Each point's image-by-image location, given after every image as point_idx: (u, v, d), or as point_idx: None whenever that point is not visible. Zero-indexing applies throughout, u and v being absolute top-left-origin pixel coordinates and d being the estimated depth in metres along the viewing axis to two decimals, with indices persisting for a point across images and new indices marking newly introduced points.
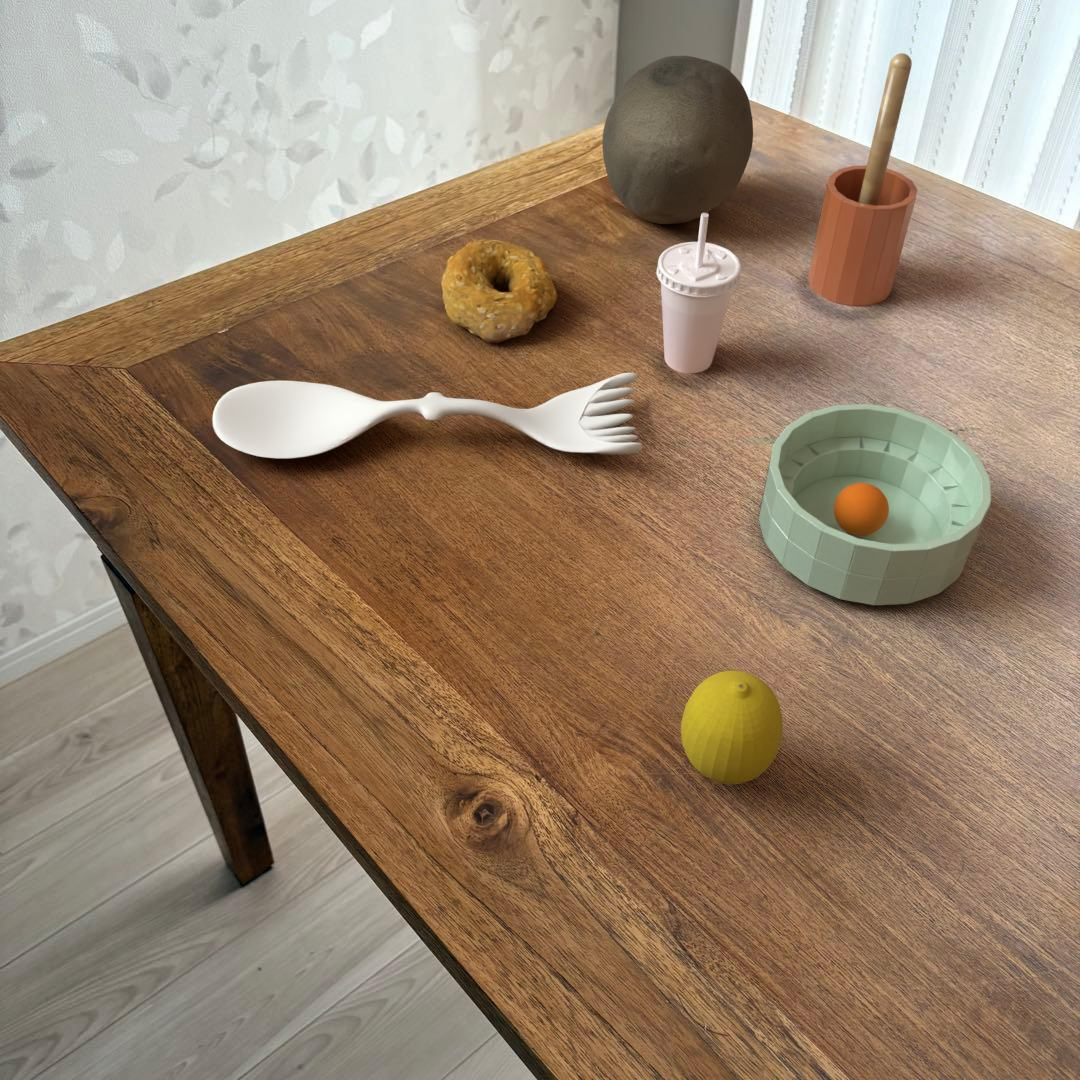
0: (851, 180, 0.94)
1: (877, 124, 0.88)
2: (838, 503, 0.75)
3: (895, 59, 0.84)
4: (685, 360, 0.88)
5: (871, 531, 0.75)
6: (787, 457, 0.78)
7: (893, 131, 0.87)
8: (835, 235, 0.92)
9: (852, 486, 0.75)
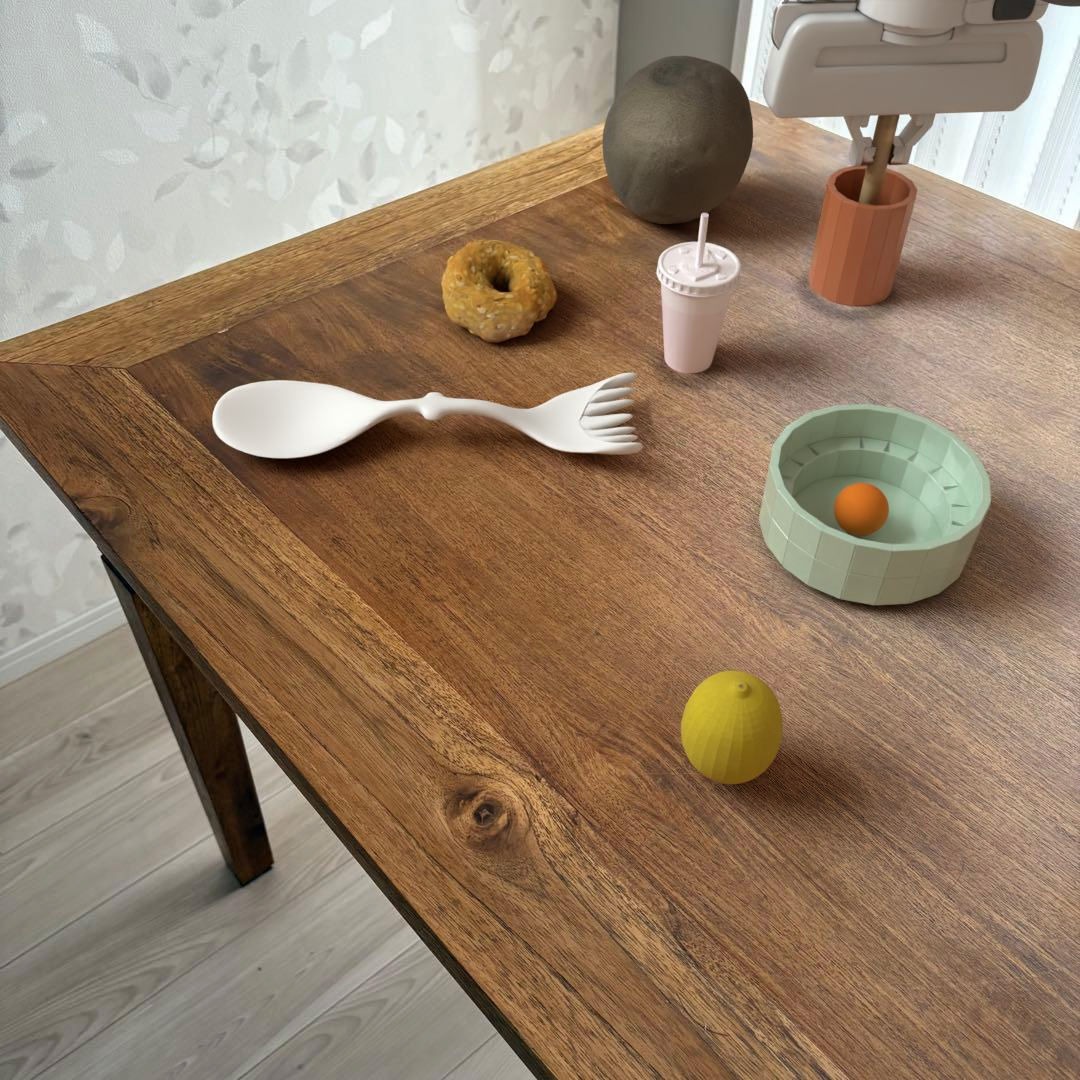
0: (851, 180, 0.94)
1: (877, 124, 0.88)
2: (838, 503, 0.75)
3: None
4: (685, 360, 0.88)
5: (871, 531, 0.75)
6: (787, 457, 0.78)
7: (893, 131, 0.87)
8: (835, 235, 0.92)
9: (852, 486, 0.75)
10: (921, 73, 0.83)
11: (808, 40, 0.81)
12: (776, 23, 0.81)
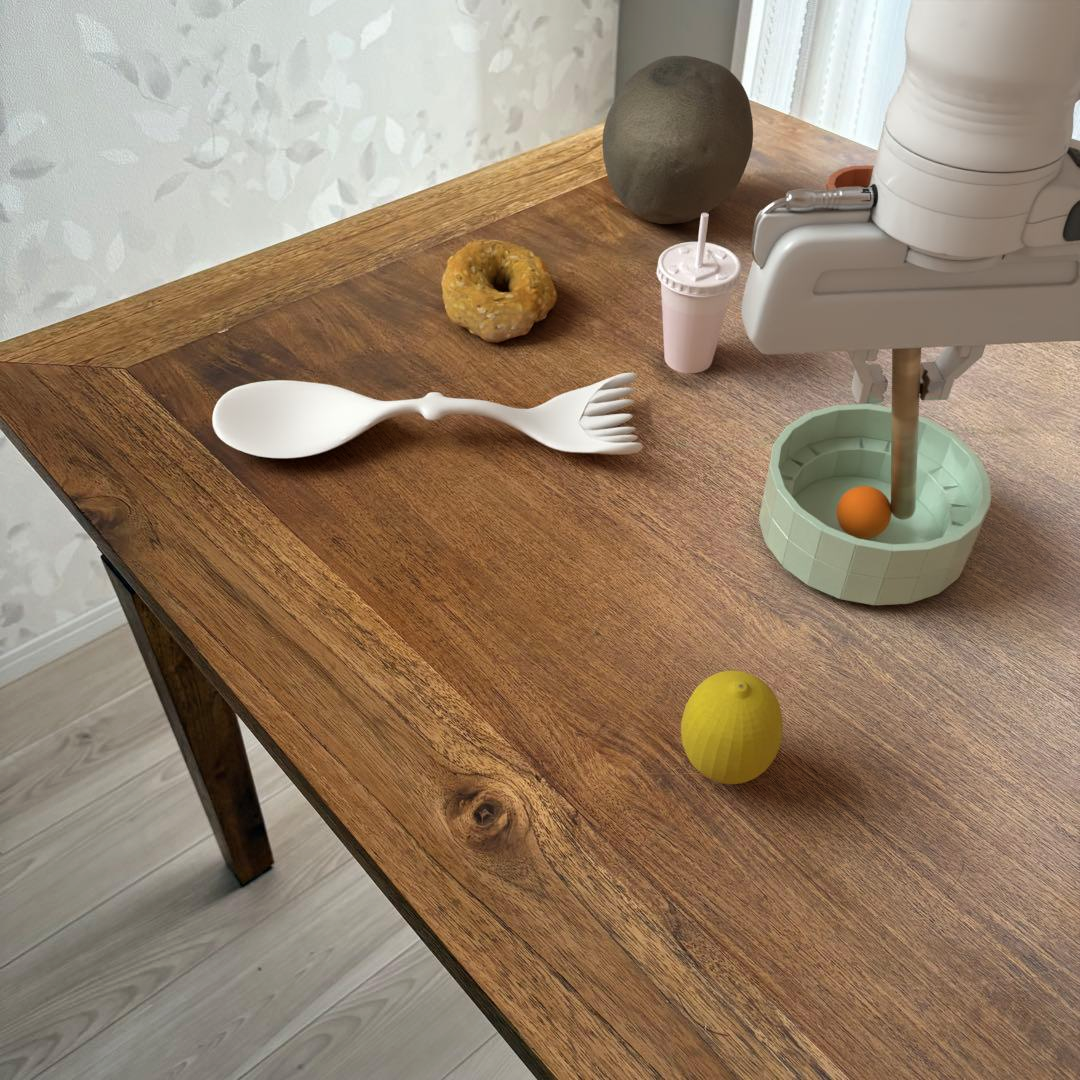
0: (851, 180, 0.94)
1: (892, 355, 0.65)
2: (842, 505, 0.75)
3: None
4: (685, 360, 0.88)
5: (871, 536, 0.75)
6: (787, 457, 0.78)
7: (915, 363, 0.64)
8: None
9: (858, 490, 0.75)
10: (959, 300, 0.60)
11: (803, 263, 0.58)
12: (758, 238, 0.58)
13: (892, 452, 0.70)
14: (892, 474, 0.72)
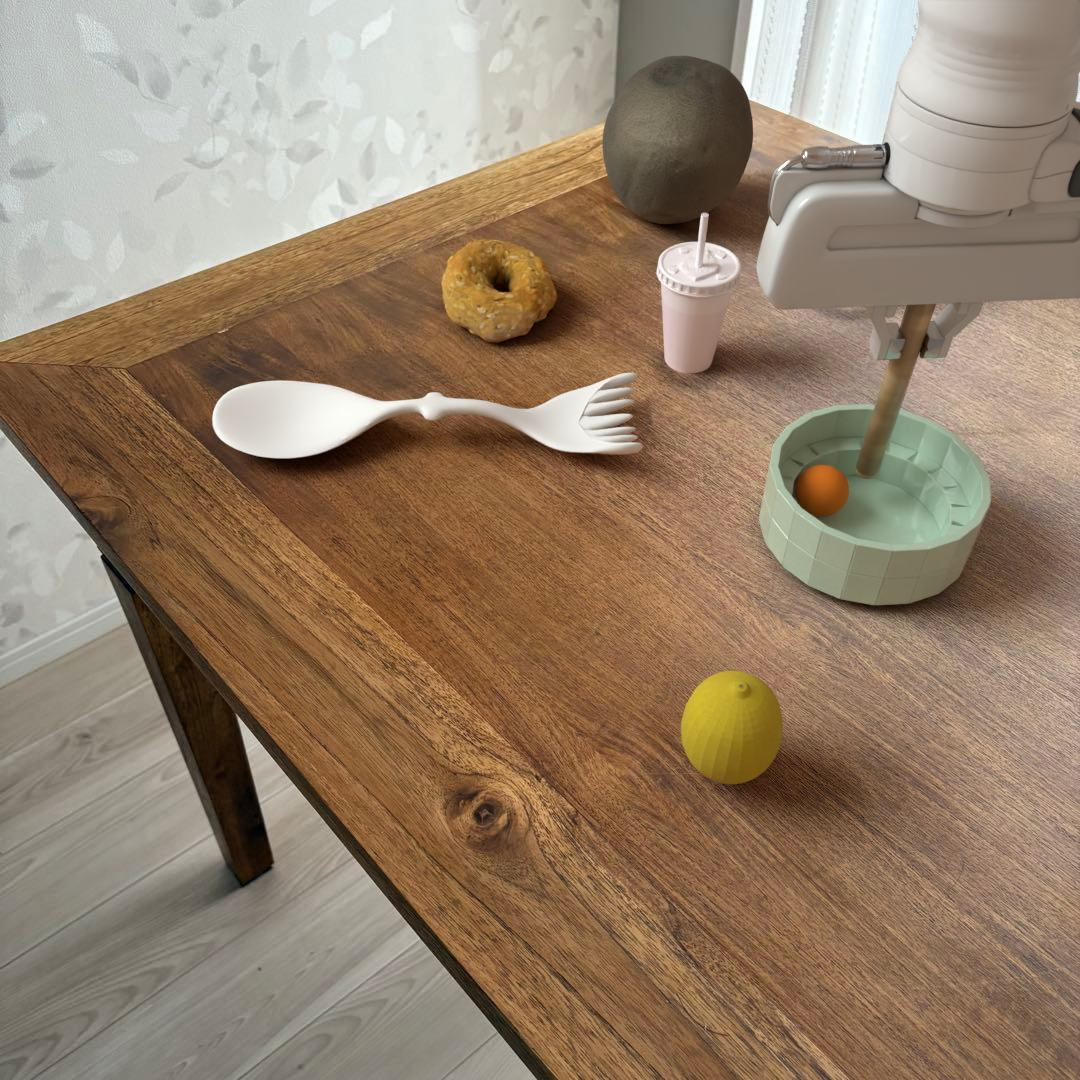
0: None
1: (907, 307, 0.67)
2: None
3: None
4: (685, 360, 0.88)
5: (825, 483, 0.75)
6: (787, 457, 0.78)
7: (926, 320, 0.66)
8: None
9: None
10: (967, 256, 0.62)
11: (818, 218, 0.60)
12: (774, 194, 0.60)
13: (876, 407, 0.73)
14: (869, 430, 0.74)
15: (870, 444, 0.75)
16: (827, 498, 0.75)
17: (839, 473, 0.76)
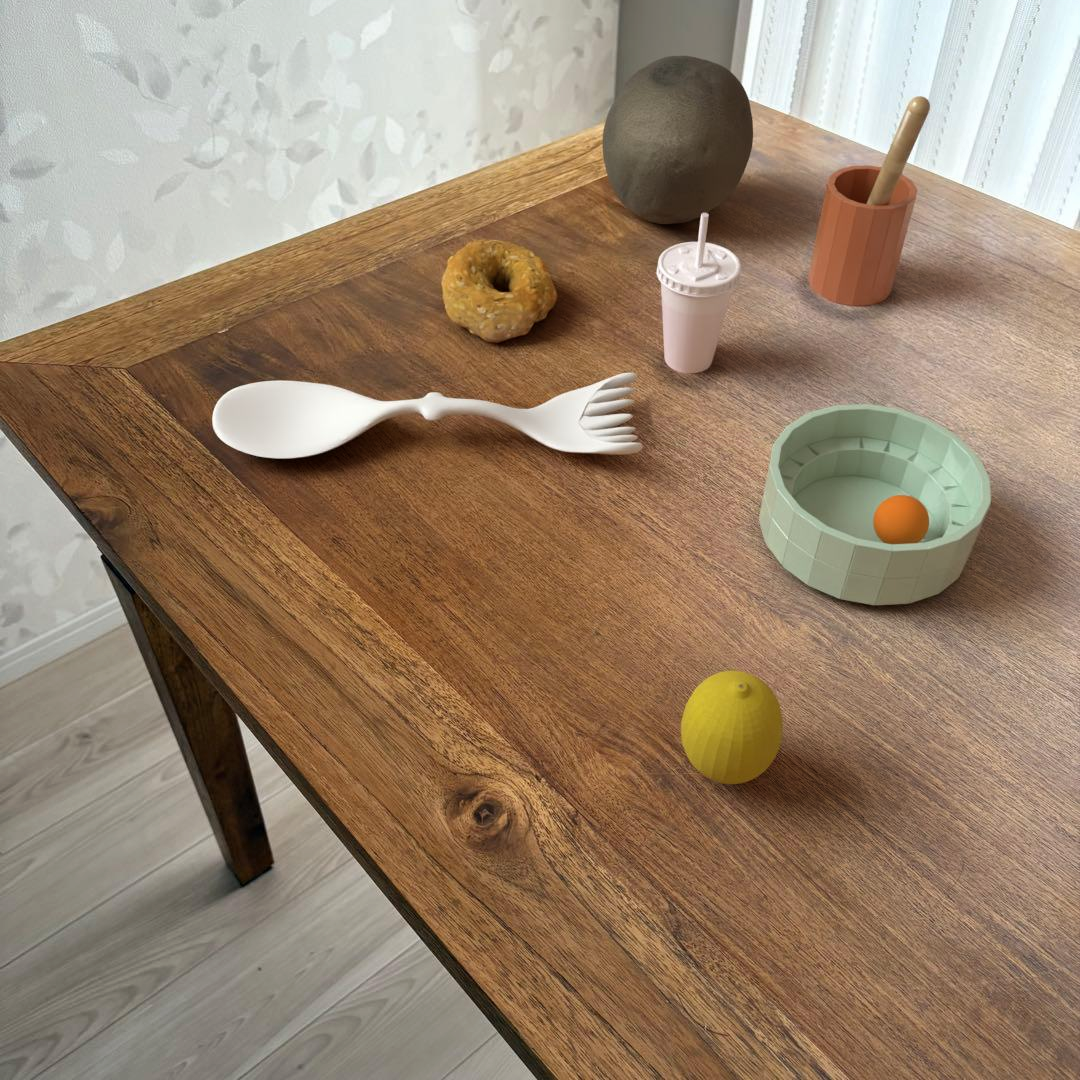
0: (851, 180, 0.94)
1: (888, 153, 0.86)
2: (907, 522, 0.73)
3: (912, 103, 0.81)
4: (685, 360, 0.88)
5: None
6: (787, 457, 0.78)
7: (901, 165, 0.86)
8: (835, 235, 0.92)
9: (925, 517, 0.74)
10: None
11: None
12: None
13: None
14: None
15: None
16: (879, 537, 0.75)
17: None
